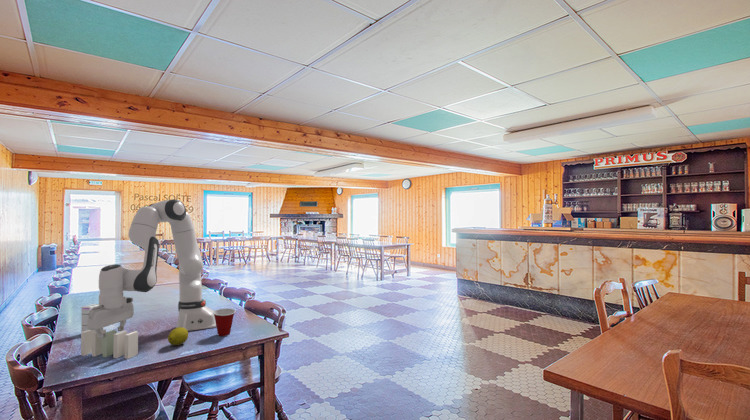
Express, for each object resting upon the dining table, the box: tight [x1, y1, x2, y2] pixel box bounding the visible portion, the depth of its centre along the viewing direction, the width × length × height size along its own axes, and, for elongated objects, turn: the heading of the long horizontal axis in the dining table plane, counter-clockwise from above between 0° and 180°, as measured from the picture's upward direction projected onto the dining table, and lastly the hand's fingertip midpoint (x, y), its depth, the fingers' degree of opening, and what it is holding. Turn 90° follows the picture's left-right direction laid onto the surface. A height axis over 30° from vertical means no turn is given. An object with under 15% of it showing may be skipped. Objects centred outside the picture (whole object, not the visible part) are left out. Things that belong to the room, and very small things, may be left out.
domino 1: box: [80, 330, 95, 357], centre depth 160 cm, size 2×5×10 cm, turn 170°
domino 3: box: [102, 329, 118, 358], centre depth 159 cm, size 2×5×10 cm, turn 170°
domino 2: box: [91, 328, 107, 357], centre depth 159 cm, size 2×5×10 cm, turn 170°
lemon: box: [167, 327, 189, 346], centre depth 171 cm, size 11×8×8 cm
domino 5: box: [124, 331, 139, 360], centre depth 157 cm, size 2×5×10 cm, turn 170°
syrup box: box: [80, 303, 99, 332], centre depth 188 cm, size 6×6×14 cm
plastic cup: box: [213, 307, 236, 337], centre depth 186 cm, size 11×11×12 cm
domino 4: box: [112, 330, 128, 359], centre depth 158 cm, size 2×5×10 cm, turn 170°
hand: (111, 334), depth 159 cm, fingers open, 8 cm apart
